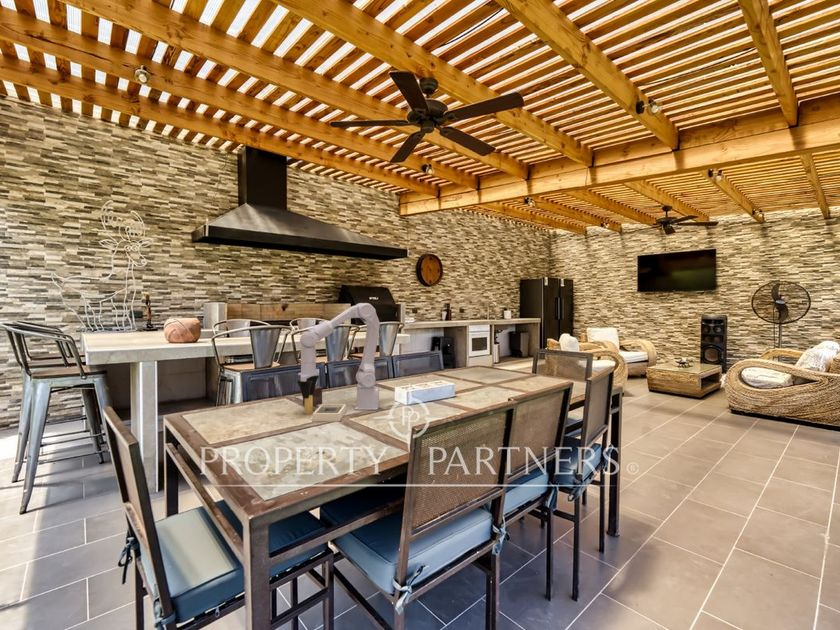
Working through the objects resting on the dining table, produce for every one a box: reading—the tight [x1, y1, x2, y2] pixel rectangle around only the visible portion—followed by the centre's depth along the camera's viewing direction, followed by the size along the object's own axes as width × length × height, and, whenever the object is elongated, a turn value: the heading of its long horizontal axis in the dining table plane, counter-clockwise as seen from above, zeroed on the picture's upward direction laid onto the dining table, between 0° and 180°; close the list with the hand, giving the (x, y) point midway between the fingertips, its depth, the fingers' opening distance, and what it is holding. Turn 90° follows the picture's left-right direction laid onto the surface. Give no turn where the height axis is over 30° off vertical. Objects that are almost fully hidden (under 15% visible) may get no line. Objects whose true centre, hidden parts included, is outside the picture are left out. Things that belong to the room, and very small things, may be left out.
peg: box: [304, 395, 314, 415], centre depth 162 cm, size 3×3×7 cm
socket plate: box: [318, 407, 342, 413], centre depth 158 cm, size 8×8×2 cm
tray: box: [312, 403, 347, 423], centre depth 158 cm, size 10×14×3 cm
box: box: [302, 385, 323, 407], centre depth 177 cm, size 6×6×7 cm
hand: (308, 396), depth 162 cm, fingers open, 7 cm apart
